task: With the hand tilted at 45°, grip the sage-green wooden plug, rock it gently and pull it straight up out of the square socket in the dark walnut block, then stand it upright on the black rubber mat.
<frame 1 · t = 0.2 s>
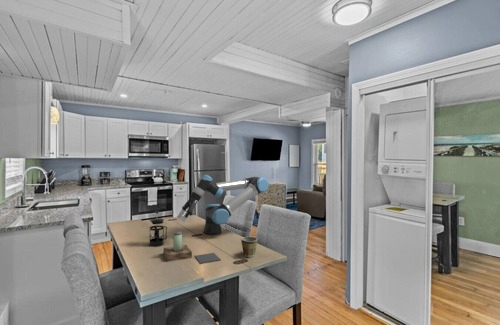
hand: (180, 219, 178), 16 cm above the table, tool tilted 35°, fingers open, 13 cm apart
mat: (207, 258, 148), on the table
french press: (157, 244, 172), on the table
ceramic cup: (248, 254, 156), on the table
socket block: (177, 255, 152), on the table
plug: (177, 244, 152), in the socket block
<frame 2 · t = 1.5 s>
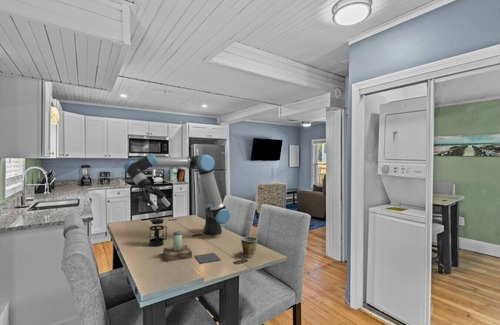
hand: (162, 207, 155), 28 cm above the table, tool tilted 45°, fingers open, 13 cm apart
nothing on the table moved.
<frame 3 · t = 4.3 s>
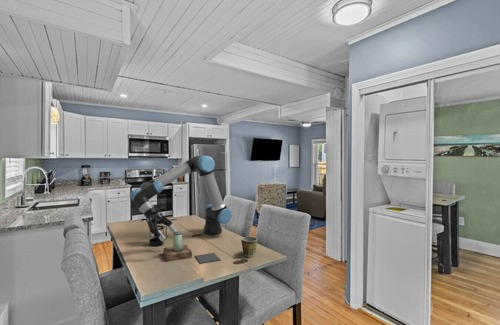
hand: (170, 236, 152), 11 cm above the table, tool tilted 45°, fingers open, 13 cm apart
nothing on the table moved.
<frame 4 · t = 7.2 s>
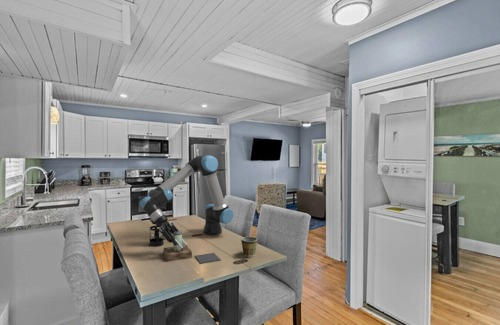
hand: (183, 247, 151), 5 cm above the table, tool tilted 45°, fingers closed on plug, 5 cm apart
plug: (177, 244, 152), in the socket block, touching gripper
everything else where it was.
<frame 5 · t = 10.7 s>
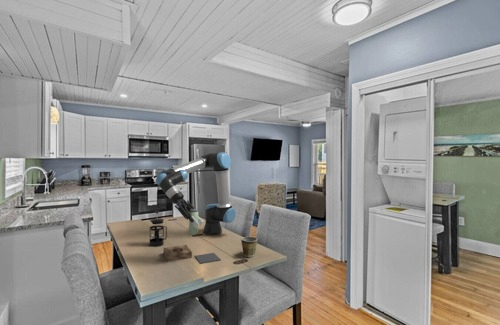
hand: (199, 224, 148), 20 cm above the table, tool tilted 45°, fingers closed on plug, 5 cm apart
plug: (193, 221, 149), point 22 cm above the table, touching gripper
everything else where it was.
when the fingers open (7 cm above the table, at t = 14.6 s): plug drops 1 cm, resting on mat.
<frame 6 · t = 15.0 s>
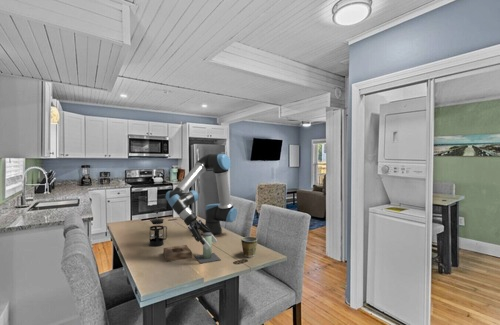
hand: (212, 245, 148), 8 cm above the table, tool tilted 45°, fingers open, 10 cm apart
plug: (207, 245, 148), on the mat, point 8 cm above the table
everything else where it was.
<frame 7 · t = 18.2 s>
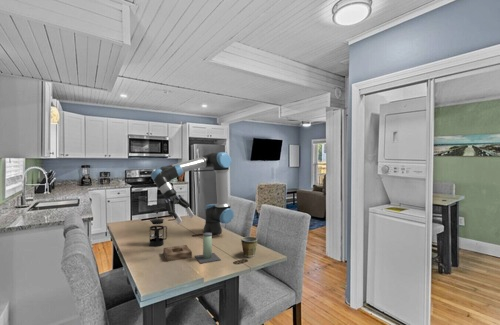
hand: (186, 219, 155), 21 cm above the table, tool tilted 40°, fingers open, 13 cm apart
nothing on the table moved.
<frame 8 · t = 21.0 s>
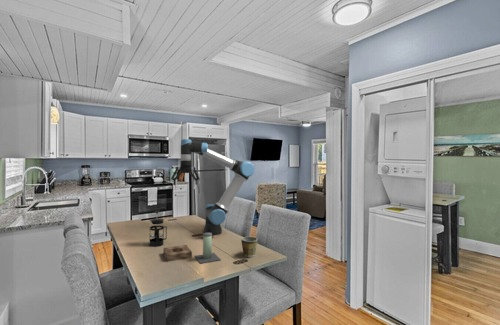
hand: (185, 189, 184), 37 cm above the table, tool pointing down, fingers open, 13 cm apart
nothing on the table moved.
at the end: plug inside the target area on the mat (0.1 cm from its centre), point 7.6 cm above the mat's base; plug tilted 0°; the gripper is holding nothing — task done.
